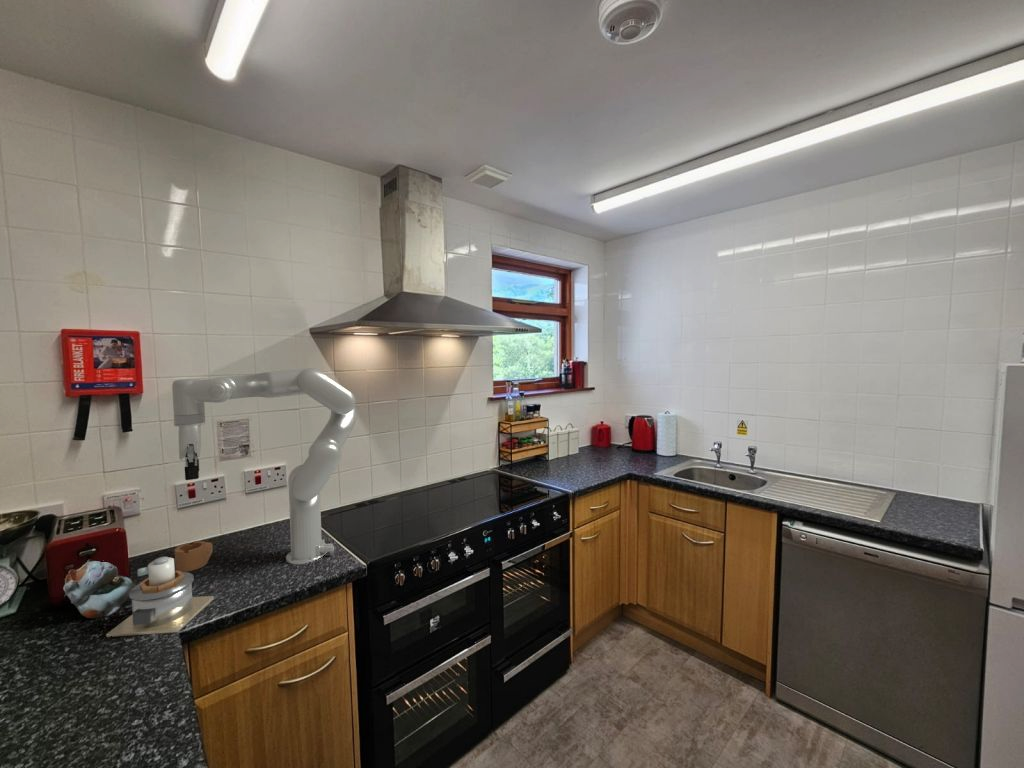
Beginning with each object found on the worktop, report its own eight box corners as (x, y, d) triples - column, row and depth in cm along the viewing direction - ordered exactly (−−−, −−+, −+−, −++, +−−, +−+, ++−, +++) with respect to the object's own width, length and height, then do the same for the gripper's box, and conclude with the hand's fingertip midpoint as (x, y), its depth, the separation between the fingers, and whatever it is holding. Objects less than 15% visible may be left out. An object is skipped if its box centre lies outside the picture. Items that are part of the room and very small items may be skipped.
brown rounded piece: (204, 569, 137) (203, 548, 137) (172, 575, 133) (171, 554, 133) (214, 548, 153) (213, 529, 153) (186, 552, 149) (185, 533, 149)
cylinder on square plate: (213, 599, 119) (212, 563, 119) (177, 634, 104) (175, 592, 104) (152, 603, 118) (150, 566, 117) (106, 638, 103) (103, 596, 102)
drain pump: (175, 577, 114) (174, 552, 114) (174, 585, 110) (173, 560, 109) (140, 585, 110) (138, 560, 109) (137, 594, 106) (136, 568, 105)
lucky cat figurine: (99, 624, 108) (91, 571, 107) (50, 629, 108) (41, 576, 107) (147, 591, 123) (140, 545, 122) (103, 595, 123) (96, 549, 122)
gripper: (175, 418, 133) (178, 471, 134) (172, 424, 119) (175, 484, 120) (205, 416, 137) (207, 468, 138) (205, 422, 123) (207, 480, 124)
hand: (192, 475), depth 129 cm, fingers open, 9 cm apart
